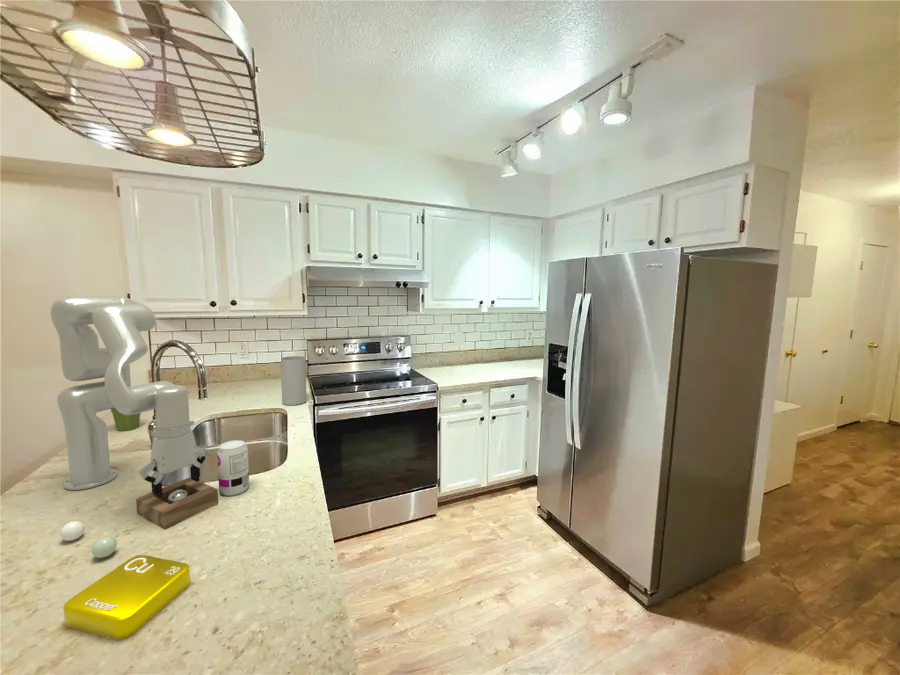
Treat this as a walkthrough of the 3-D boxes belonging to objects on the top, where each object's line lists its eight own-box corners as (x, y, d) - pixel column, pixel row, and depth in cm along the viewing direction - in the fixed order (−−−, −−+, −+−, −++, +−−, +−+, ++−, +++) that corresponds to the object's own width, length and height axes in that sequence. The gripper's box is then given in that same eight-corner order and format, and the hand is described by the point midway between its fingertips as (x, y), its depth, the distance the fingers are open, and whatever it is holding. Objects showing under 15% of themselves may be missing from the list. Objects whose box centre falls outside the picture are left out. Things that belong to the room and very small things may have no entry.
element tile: (59, 627, 71) (56, 604, 70) (138, 570, 86) (137, 550, 85) (124, 644, 68) (122, 620, 68) (195, 582, 83) (194, 561, 82)
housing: (137, 513, 106) (135, 498, 105) (190, 490, 118) (189, 477, 118) (164, 529, 99) (163, 513, 99) (218, 503, 112) (217, 489, 111)
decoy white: (57, 541, 94) (55, 524, 93) (80, 531, 98) (79, 515, 97) (65, 547, 92) (63, 530, 91) (88, 536, 96) (87, 520, 95)
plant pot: (130, 433, 160) (128, 408, 159) (102, 432, 161) (100, 407, 159) (152, 424, 172) (150, 400, 171) (126, 423, 172) (124, 399, 171)
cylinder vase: (276, 404, 206) (275, 359, 203) (292, 398, 218) (291, 355, 215) (296, 407, 202) (295, 361, 199) (311, 400, 214) (310, 357, 211)
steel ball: (162, 510, 108) (161, 492, 107) (183, 500, 112) (182, 483, 111) (173, 516, 105) (172, 498, 104) (194, 506, 110) (193, 489, 109)
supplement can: (215, 498, 114) (213, 451, 112) (223, 484, 122) (221, 440, 120) (245, 495, 116) (243, 448, 115) (251, 482, 124) (250, 438, 122)
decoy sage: (88, 558, 88) (87, 540, 88) (112, 547, 92) (110, 530, 92) (97, 565, 86) (96, 547, 86) (121, 553, 90) (119, 536, 90)
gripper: (198, 418, 115) (201, 472, 117) (129, 437, 100) (134, 498, 102) (213, 423, 112) (215, 478, 114) (144, 443, 96) (149, 506, 99)
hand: (177, 487), depth 108 cm, fingers open, 9 cm apart
